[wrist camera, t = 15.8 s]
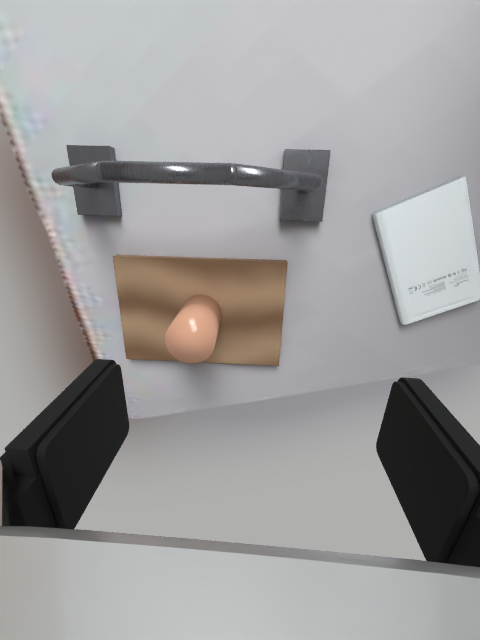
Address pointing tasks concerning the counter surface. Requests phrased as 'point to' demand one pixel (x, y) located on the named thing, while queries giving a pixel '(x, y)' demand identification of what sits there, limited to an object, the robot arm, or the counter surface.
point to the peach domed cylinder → (194, 330)
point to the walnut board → (203, 279)
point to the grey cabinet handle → (194, 179)
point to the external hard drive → (430, 251)
